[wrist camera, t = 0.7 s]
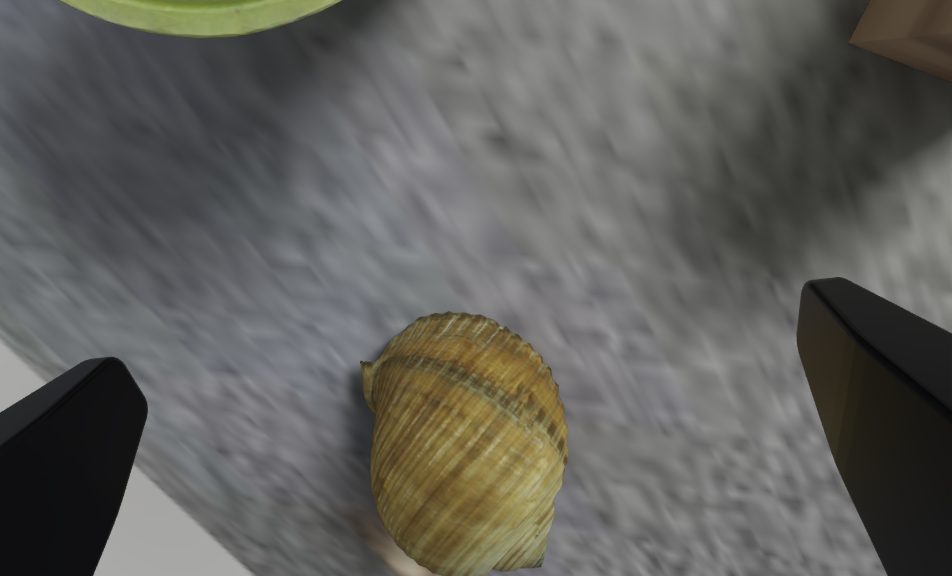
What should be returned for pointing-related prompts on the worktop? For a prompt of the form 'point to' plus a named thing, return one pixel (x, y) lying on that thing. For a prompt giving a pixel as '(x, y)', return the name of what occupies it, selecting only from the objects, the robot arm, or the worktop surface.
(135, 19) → the plant pot
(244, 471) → the worktop surface
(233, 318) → the worktop surface
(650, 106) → the worktop surface
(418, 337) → the seashell
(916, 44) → the walnut block
